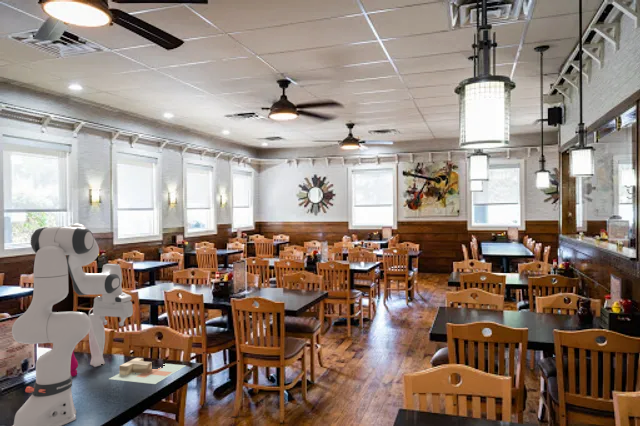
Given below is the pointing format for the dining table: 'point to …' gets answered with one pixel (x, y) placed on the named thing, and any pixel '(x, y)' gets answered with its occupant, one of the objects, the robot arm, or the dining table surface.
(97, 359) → the skyscraper
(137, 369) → the T block
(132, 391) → the dining table surface
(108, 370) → the dining table surface
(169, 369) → the mat
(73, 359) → the pepper mill
